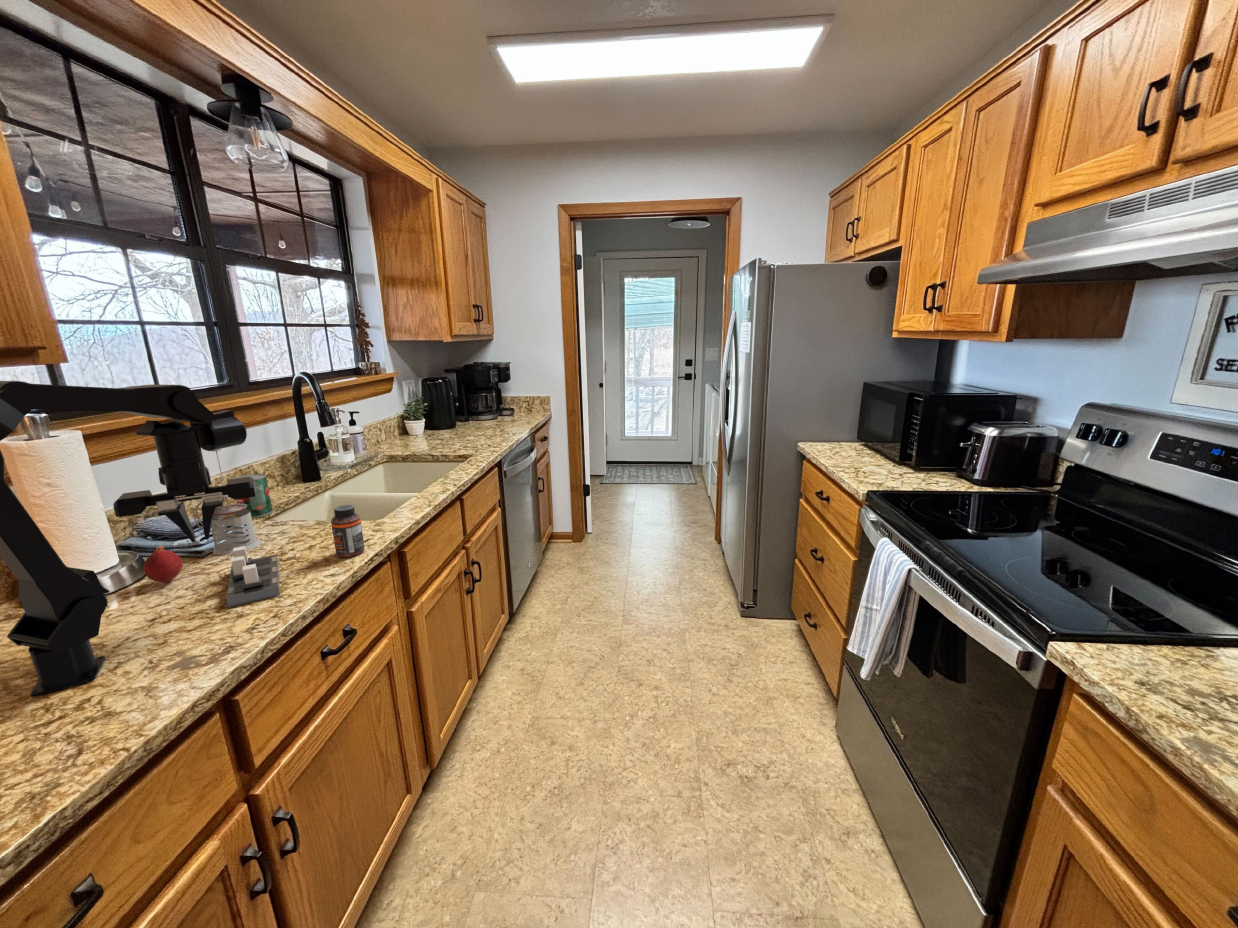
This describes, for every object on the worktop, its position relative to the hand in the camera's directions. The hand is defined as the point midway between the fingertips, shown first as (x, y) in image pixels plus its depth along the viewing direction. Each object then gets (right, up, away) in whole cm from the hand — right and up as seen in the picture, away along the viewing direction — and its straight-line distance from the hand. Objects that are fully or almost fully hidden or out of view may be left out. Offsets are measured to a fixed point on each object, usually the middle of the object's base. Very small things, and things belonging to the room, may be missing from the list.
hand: (200, 540), depth 90 cm
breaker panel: (+2, -11, +11) cm, 16 cm away
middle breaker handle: (0, -9, +10) cm, 13 cm away
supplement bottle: (+14, -7, +25) cm, 30 cm away
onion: (-17, -11, +12) cm, 23 cm away
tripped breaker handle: (+5, -9, +6) cm, 12 cm away
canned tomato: (-28, -1, +52) cm, 59 cm away
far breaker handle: (-3, -7, +14) cm, 17 cm away
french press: (-17, -6, +29) cm, 35 cm away
